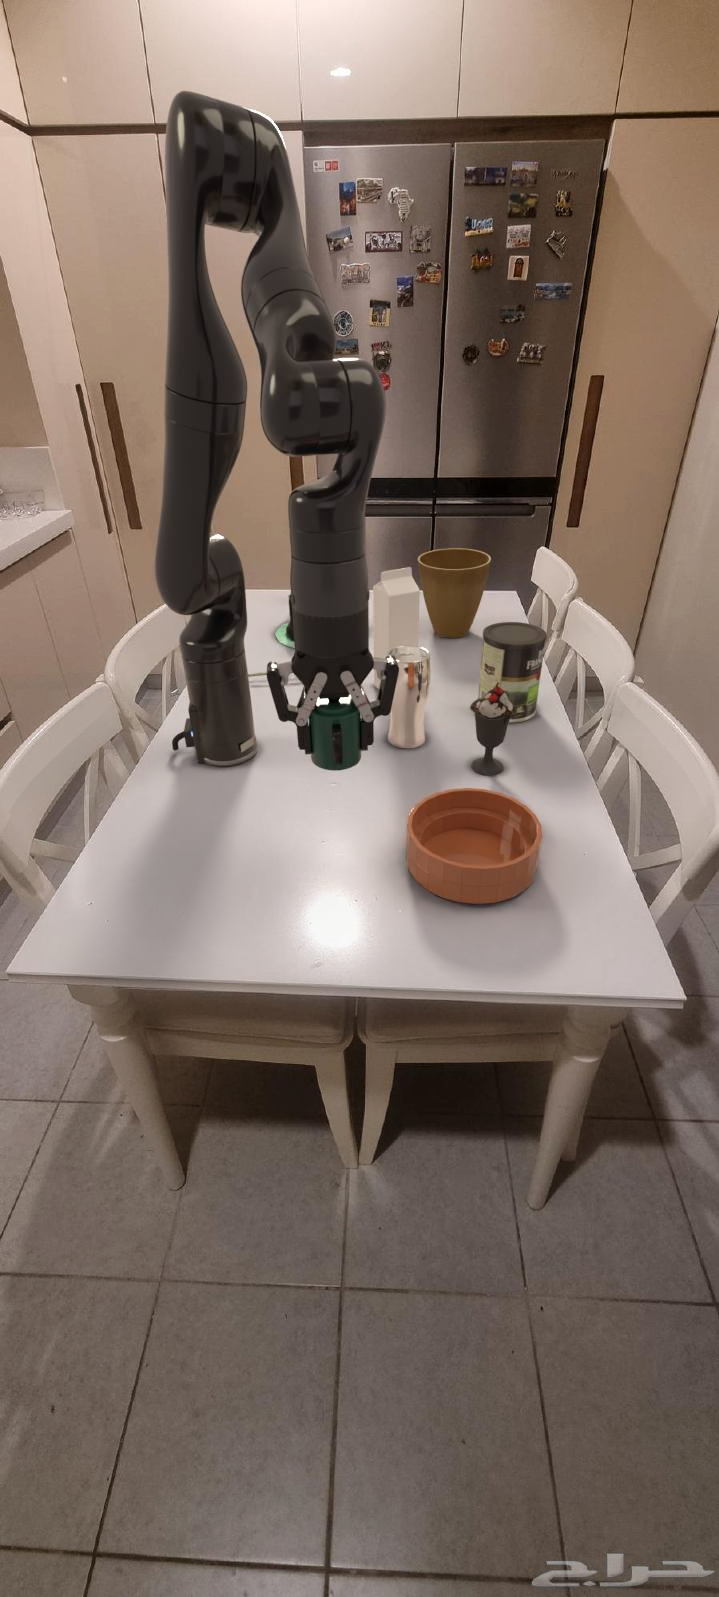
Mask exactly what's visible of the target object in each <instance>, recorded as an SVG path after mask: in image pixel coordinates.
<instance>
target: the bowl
mask: <svg viewBox="0 0 719 1597" xmlns="http://www.w3.org/2000/svg"><path fill="white" fill-rule="evenodd" d="M405 840H406V843H405V844H406V845H405V846H406V847H405V860H406V865H407V868H408V871H409V872H410V874H411V875H412V877H413V878H414V880H415V881H416V882H417V883H418V884H419V885H421V886H422V887H423V888H424V889H426V890H427V891H429V892H431V893H433V894H435V895H437V896H438V897H440V898H443V899H446V900H450V901H454V902H456V903H462V904H476V905H482V904H492V903H493V904H495V903H499V902H502V901H505V900H508V899H512V898H514V897H516V896H517V895H519V894H521V893H522V892H524V891H526V889H528V888H529V886H530V885H531V883H533V881H534V880H535V877H536V873H537V871H538V864H539V858H540V852H541V846H542V840H543V828H542V824H541V822H540V820H539V818H538V816H537V815H536V813H535V812H533V811H532V810H531V809H530V808H529V807H528V806H527V805H526V804H524V803H522V802H521V801H519V800H518V799H517V798H514V797H512V796H510V795H508V794H504V793H502V792H498V791H495V790H494V791H493V790H489V789H486V788H472V787H461V788H451V789H446V790H442V791H438V792H435V793H432V794H431V795H428V796H426V797H424V798H423V799H421V800H420V801H419V802H417V803H416V804H415V805H414V806H413V808H412V809H411V810H410V812H409V814H408V816H407V821H406V839H405Z"/></svg>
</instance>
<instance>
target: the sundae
mask: <svg viewBox="0 0 719 1597" xmlns="http://www.w3.org/2000/svg"><path fill="white" fill-rule="evenodd" d="M498 685H499V682H497V684H496V686H495V687H496V688H495V687H494V689H492V690H490V691H488V692H487V693H486V695H485V697H484V698H480V699H478V698H477V699H476V700H474V701H473V702H472V703H470V706H469V709H470V711H472V713H474V720H475V734H476V741H478V743H479V744H480V746H482V747H484V754H483V756H481V757H477V758H475V759H474V760H473V761H472V762H471V764H470V766H471V768H472V770H473V771H474V772H476V773H478V774H480V775H484V776H494V775H498V774H500V773H502V772H503V771H504V769H505V766H504V764H503V763H502V762H501V761H500V760H499V759H497V758H495V757H494V749H495V748H498V747H499V746H500V745H502V744H503V743H504V741H505V738H506V734H507V732H508V728H509V724H510V723H509V720H510V717H511V716H512V715H515V714H516V712H517V709H516V706H515V705H514V704H513V703H512V702H510V701H509V700H508V696H509V694H508V693H507V692H505V691H504V690H503V689H502V688H500V687H498Z"/></svg>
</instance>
